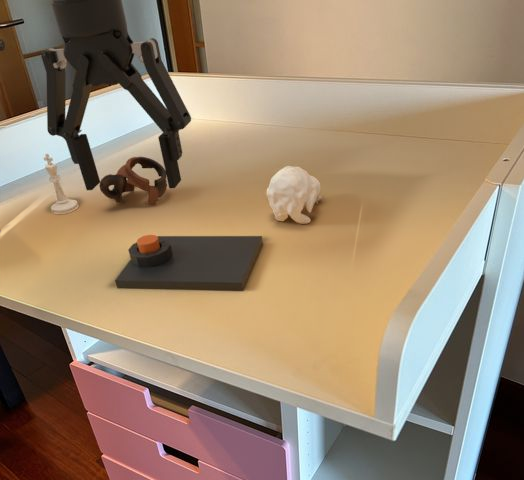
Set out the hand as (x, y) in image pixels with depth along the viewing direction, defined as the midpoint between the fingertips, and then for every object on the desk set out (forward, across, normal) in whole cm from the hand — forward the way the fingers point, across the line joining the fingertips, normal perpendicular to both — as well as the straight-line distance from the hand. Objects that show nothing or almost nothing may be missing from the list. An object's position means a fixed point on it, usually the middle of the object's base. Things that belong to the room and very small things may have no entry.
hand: (133, 185), depth 75 cm
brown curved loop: (+12, +12, -23) cm, 29 cm away
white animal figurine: (+12, -19, -17) cm, 28 cm away
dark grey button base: (+12, -6, 0) cm, 13 cm away
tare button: (+9, 0, 0) cm, 9 cm away
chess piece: (+12, +25, -20) cm, 34 cm away
